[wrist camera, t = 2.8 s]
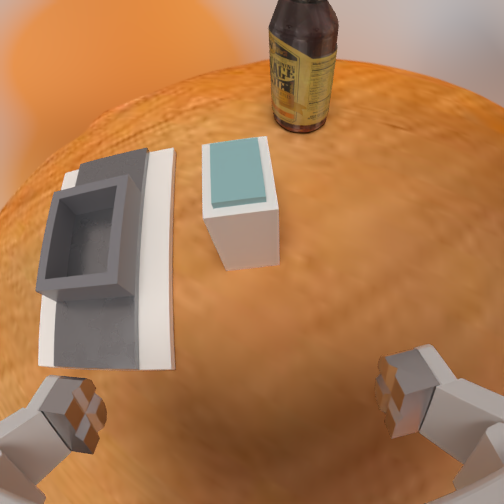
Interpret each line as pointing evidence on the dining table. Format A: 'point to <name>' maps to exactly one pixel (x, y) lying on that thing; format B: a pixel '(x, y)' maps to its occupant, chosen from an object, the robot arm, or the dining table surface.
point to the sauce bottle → (302, 62)
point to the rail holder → (110, 266)
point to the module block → (241, 202)
